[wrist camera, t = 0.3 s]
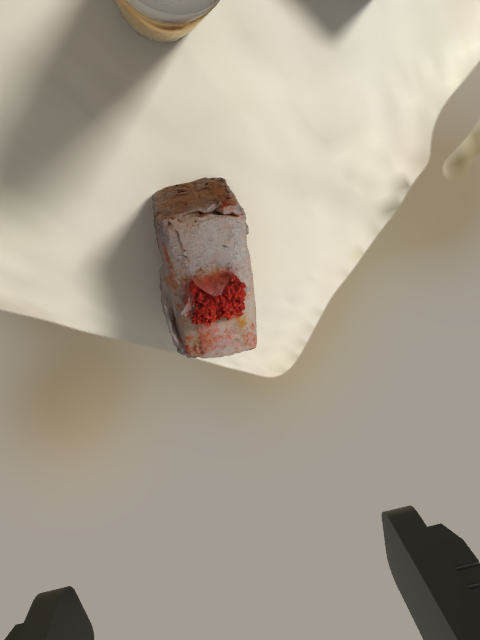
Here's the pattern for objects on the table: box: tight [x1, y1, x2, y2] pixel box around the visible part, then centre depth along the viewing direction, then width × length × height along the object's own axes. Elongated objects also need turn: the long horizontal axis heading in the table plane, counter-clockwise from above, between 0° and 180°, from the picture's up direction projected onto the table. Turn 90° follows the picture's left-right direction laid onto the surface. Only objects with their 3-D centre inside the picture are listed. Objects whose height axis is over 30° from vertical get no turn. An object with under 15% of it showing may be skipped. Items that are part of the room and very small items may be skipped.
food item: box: [152, 178, 257, 358], centre depth 32 cm, size 14×8×10 cm, turn 8°
